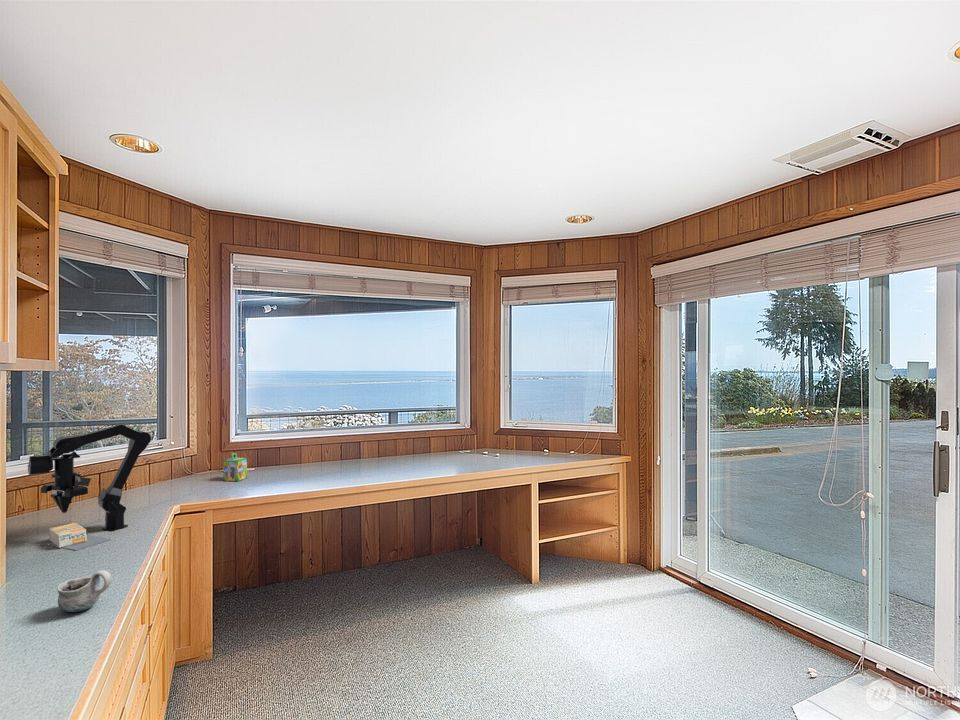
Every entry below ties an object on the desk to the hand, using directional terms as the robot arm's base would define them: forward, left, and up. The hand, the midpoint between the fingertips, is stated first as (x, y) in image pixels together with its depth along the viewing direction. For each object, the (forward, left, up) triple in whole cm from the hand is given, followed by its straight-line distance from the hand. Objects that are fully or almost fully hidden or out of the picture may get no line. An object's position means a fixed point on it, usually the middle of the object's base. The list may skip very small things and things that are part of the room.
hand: (64, 512), depth 203 cm
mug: (-68, +34, -10) cm, 76 cm away
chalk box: (+18, -97, -10) cm, 99 cm away
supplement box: (0, +1, -7) cm, 7 cm away
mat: (-11, +1, -10) cm, 14 cm away
